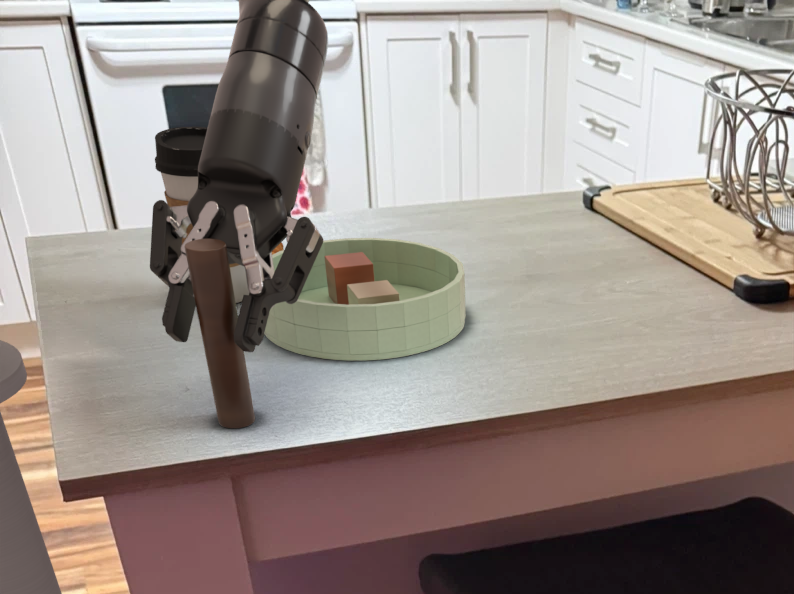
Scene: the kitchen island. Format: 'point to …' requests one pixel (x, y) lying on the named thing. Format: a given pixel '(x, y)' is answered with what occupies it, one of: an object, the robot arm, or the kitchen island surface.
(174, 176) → the coffee cup
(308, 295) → the bowl
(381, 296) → the block cream
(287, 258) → the robot arm
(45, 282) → the kitchen island surface
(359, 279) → the block terracotta
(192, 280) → the brown tall cylinder
